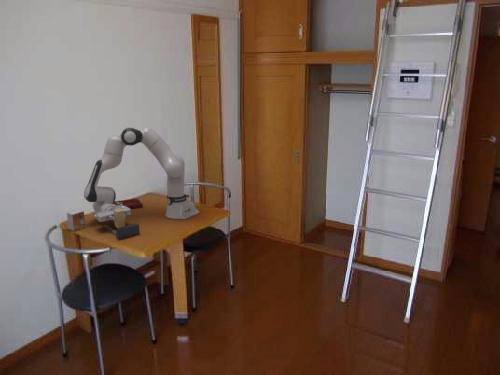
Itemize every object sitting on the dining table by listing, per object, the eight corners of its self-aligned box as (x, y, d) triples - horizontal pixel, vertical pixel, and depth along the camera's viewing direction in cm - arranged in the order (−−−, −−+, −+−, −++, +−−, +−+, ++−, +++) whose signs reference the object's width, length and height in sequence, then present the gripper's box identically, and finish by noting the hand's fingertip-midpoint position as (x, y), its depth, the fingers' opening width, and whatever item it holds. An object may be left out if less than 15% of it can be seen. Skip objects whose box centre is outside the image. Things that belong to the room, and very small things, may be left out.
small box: (73, 231, 249) (72, 214, 246) (68, 229, 252) (66, 212, 249) (85, 227, 255) (84, 211, 252) (80, 225, 259) (78, 209, 255)
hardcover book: (143, 208, 292) (142, 202, 290) (112, 213, 281) (111, 207, 280) (137, 203, 302) (137, 197, 300) (107, 207, 291) (107, 202, 290)
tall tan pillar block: (121, 224, 253) (120, 208, 250) (125, 226, 250) (124, 210, 247) (114, 226, 250) (113, 210, 247) (118, 228, 247) (117, 212, 244)
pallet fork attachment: (120, 223, 263) (119, 214, 262) (139, 234, 247) (139, 224, 246) (100, 228, 255) (99, 218, 253) (119, 240, 239) (118, 230, 237)
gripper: (92, 210, 249) (102, 216, 240) (123, 203, 263) (135, 209, 253) (93, 220, 251) (103, 227, 241) (124, 212, 265) (135, 218, 255)
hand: (120, 217), depth 248 cm, fingers closed on tall tan pillar block, 4 cm apart
